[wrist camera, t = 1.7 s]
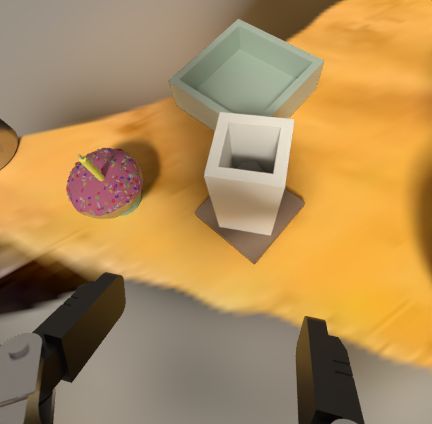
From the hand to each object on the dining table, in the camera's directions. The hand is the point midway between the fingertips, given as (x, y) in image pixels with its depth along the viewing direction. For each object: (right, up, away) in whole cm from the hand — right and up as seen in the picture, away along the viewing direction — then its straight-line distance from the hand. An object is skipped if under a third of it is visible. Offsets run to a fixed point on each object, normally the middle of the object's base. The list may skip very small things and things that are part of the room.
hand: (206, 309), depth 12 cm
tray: (+5, +20, +27) cm, 34 cm away
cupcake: (-12, +6, +23) cm, 27 cm away
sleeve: (+4, +5, +20) cm, 21 cm away
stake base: (+4, +4, +21) cm, 22 cm away
